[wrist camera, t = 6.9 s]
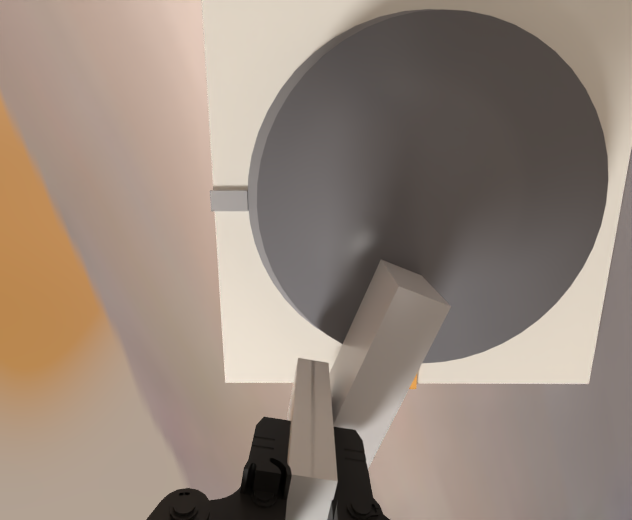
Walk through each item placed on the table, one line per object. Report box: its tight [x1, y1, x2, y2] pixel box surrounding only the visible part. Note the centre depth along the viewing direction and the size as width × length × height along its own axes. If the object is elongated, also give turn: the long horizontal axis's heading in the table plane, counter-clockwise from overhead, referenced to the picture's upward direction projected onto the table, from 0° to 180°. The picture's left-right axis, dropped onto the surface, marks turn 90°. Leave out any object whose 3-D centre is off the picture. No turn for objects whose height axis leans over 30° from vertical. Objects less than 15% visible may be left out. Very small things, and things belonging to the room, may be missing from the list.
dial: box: [257, 9, 608, 468], centre depth 16 cm, size 20×15×6 cm
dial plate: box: [201, 0, 632, 389], centre depth 20 cm, size 20×20×2 cm
